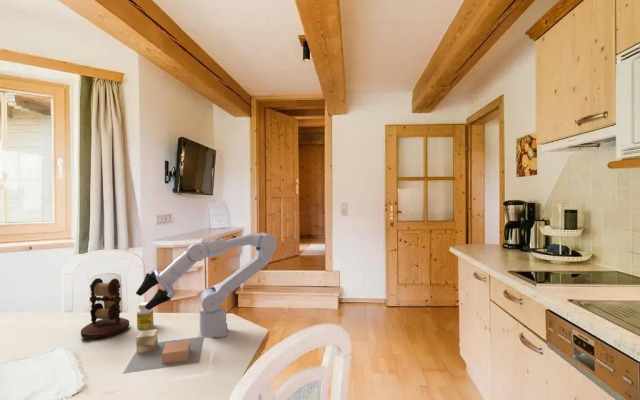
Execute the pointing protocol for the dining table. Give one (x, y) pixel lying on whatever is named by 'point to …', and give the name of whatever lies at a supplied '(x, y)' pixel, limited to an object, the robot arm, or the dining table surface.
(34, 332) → the dining table surface
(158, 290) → the robot arm
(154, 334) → the beech cube
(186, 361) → the build board
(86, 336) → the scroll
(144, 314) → the supplement bottle
